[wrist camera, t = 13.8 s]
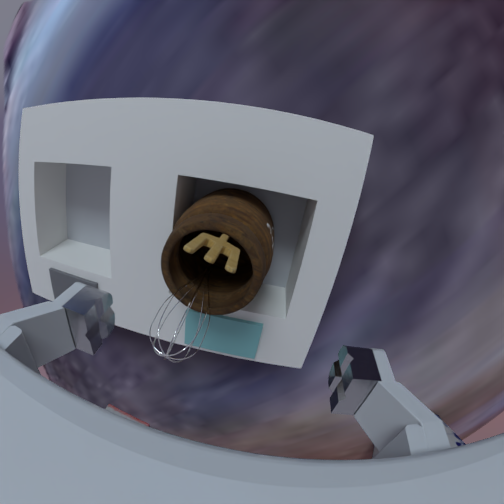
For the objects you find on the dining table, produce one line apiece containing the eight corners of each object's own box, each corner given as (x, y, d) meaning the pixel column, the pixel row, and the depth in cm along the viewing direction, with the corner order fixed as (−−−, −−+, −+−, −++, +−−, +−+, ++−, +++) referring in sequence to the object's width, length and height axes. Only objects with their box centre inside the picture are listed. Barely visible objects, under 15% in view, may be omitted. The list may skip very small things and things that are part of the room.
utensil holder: (180, 245, 20) (92, 353, 9) (212, 167, 18) (115, 212, 7) (252, 279, 21) (225, 415, 10) (292, 205, 19) (309, 303, 7)
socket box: (350, 136, 17) (375, 135, 12) (298, 327, 23) (301, 371, 19) (62, 108, 18) (20, 108, 13) (62, 269, 24) (31, 294, 19)
